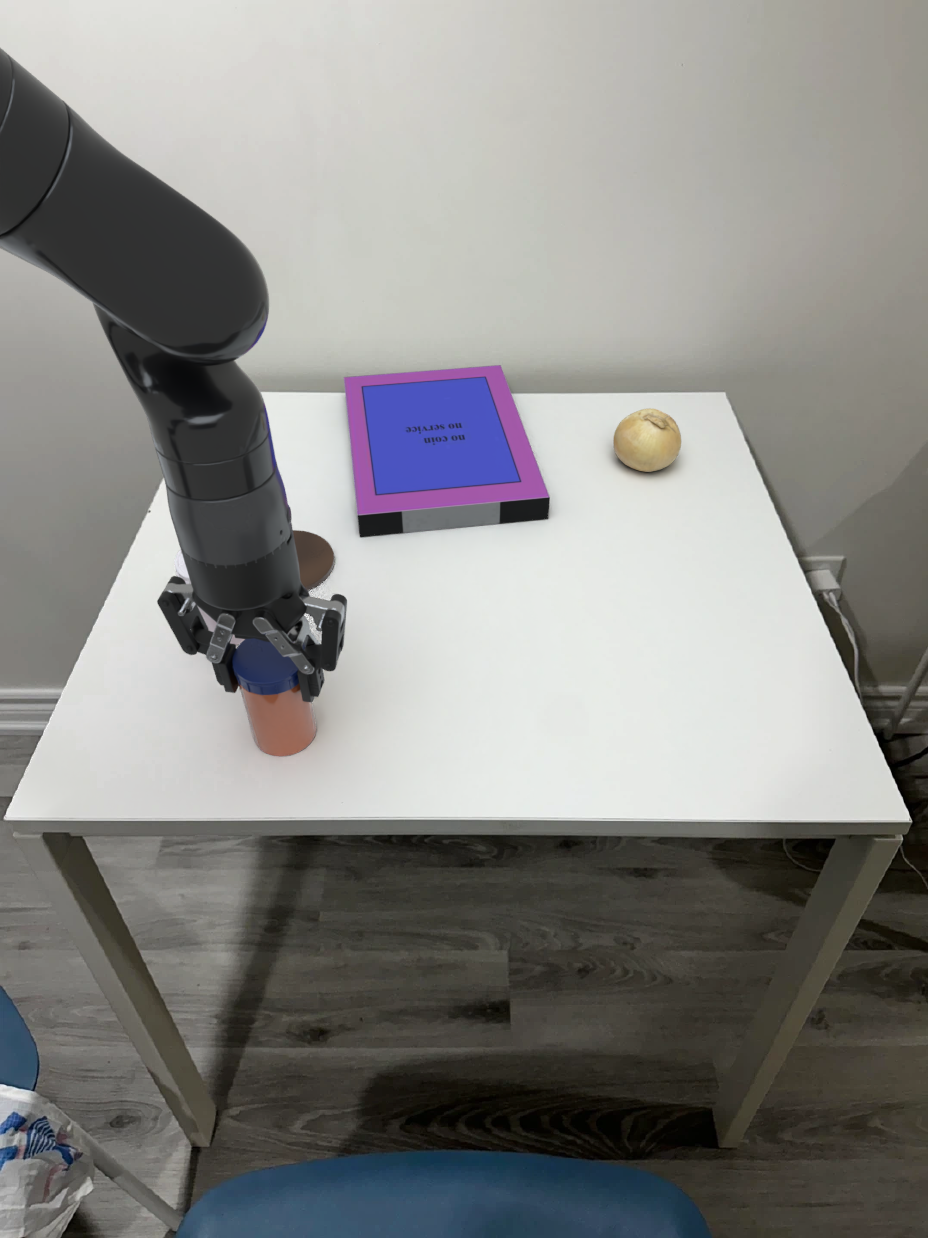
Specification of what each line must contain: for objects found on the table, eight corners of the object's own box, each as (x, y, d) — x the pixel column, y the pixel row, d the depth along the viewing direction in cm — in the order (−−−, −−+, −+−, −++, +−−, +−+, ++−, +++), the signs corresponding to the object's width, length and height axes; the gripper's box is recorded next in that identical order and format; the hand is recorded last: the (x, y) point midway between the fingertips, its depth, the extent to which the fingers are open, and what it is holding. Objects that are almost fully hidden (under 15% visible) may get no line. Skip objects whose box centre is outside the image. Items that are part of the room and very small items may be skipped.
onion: (600, 468, 102) (606, 416, 97) (625, 436, 107) (632, 385, 102) (663, 487, 99) (674, 434, 94) (686, 454, 104) (697, 402, 99)
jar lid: (320, 679, 67) (318, 667, 66) (248, 706, 65) (244, 693, 64) (295, 632, 71) (292, 620, 70) (226, 656, 69) (222, 644, 68)
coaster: (224, 590, 87) (223, 586, 86) (257, 530, 94) (256, 525, 93) (319, 601, 86) (319, 596, 85) (345, 539, 93) (344, 534, 92)
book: (500, 365, 114) (549, 497, 93) (500, 385, 116) (548, 519, 95) (343, 377, 112) (357, 515, 91) (345, 397, 114) (359, 537, 93)
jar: (246, 754, 72) (224, 682, 66) (262, 705, 76) (243, 633, 69) (309, 758, 72) (293, 687, 65) (322, 709, 76) (308, 637, 69)
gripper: (108, 549, 55) (170, 714, 67) (322, 572, 54) (348, 737, 65) (155, 483, 61) (205, 646, 72) (352, 501, 59) (370, 665, 71)
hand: (273, 688), depth 69 cm, fingers closed on jar lid, 6 cm apart
